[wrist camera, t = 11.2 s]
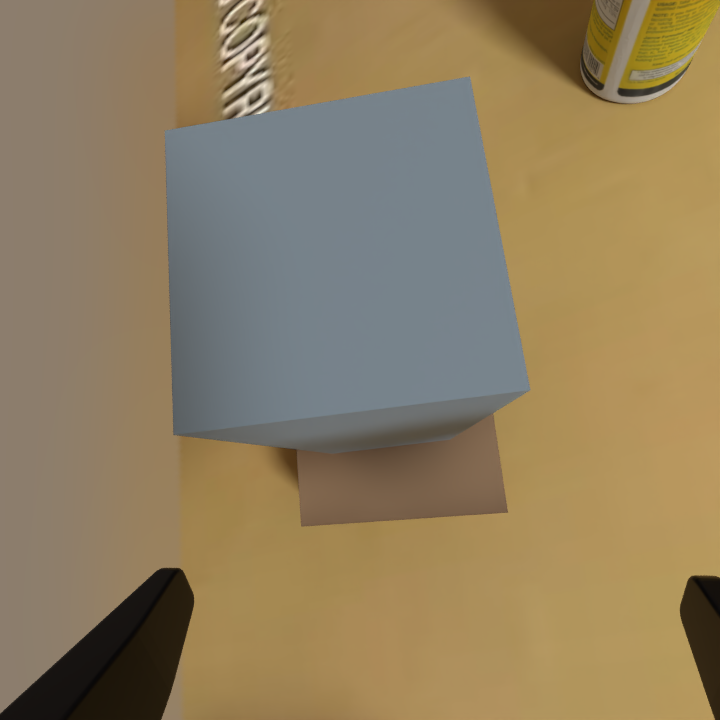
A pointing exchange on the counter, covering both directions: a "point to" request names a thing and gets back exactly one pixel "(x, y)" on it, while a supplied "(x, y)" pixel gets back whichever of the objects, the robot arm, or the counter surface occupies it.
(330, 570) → the counter surface
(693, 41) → the supplement bottle
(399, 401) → the slate block
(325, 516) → the walnut block
